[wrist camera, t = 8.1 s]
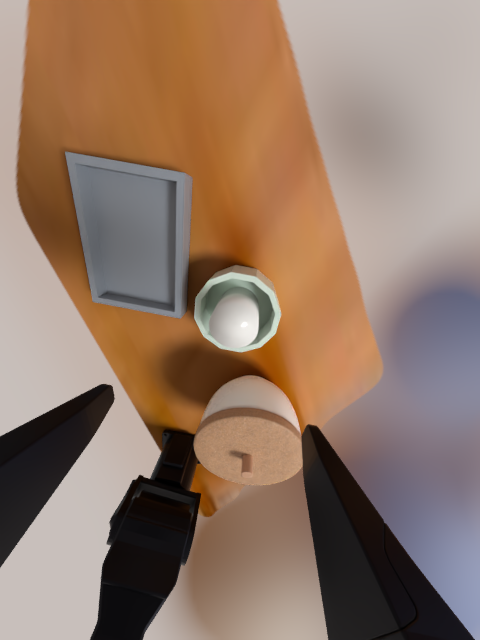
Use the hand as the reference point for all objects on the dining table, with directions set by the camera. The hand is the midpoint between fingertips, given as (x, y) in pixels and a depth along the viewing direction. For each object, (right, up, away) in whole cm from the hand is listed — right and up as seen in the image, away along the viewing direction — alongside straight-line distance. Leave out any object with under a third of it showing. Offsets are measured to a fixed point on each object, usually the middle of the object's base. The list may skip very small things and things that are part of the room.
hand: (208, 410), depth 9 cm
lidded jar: (+3, -5, +17) cm, 18 cm away
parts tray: (-8, +11, +10) cm, 17 cm away
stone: (+1, +6, +11) cm, 12 cm away
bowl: (+1, +6, +11) cm, 13 cm away
